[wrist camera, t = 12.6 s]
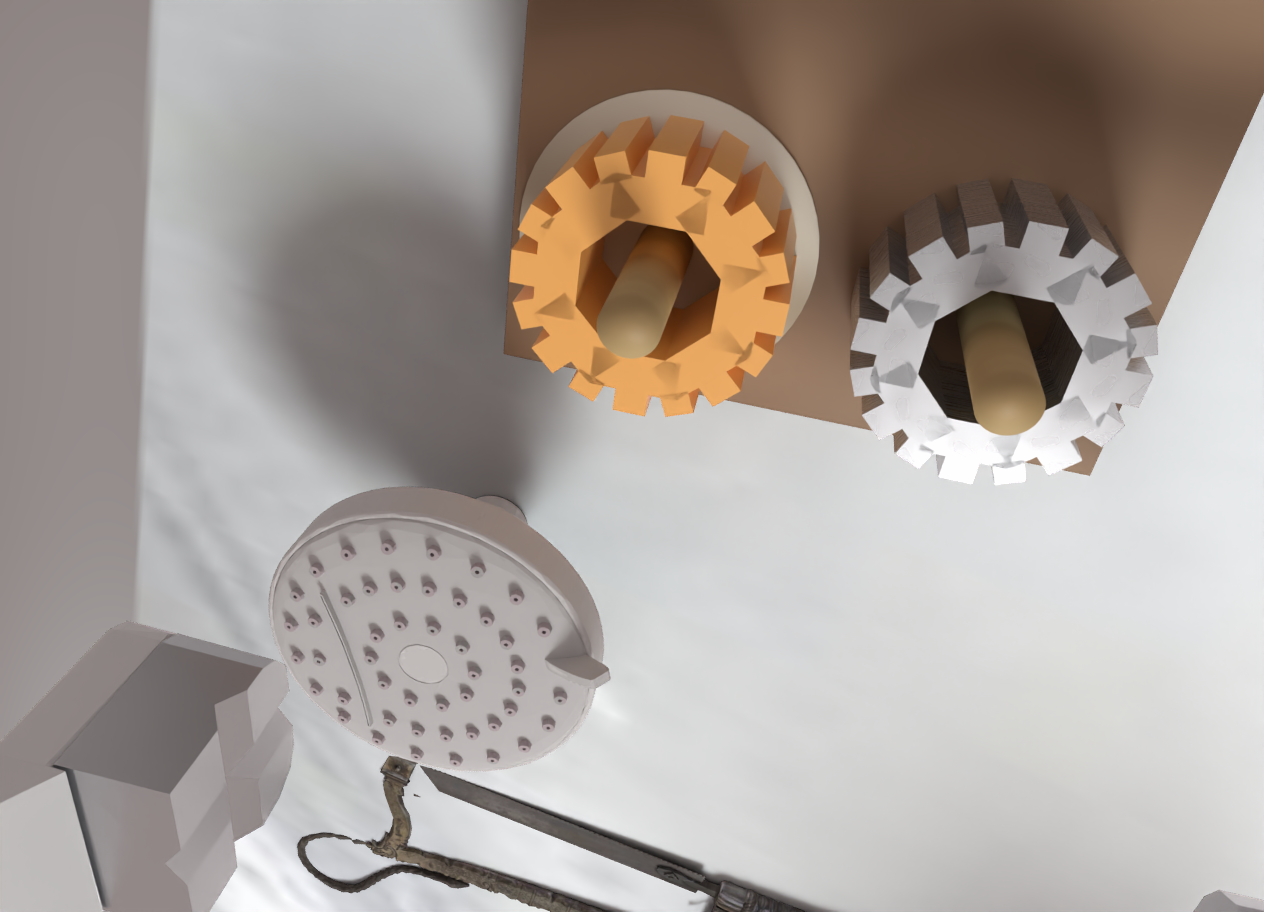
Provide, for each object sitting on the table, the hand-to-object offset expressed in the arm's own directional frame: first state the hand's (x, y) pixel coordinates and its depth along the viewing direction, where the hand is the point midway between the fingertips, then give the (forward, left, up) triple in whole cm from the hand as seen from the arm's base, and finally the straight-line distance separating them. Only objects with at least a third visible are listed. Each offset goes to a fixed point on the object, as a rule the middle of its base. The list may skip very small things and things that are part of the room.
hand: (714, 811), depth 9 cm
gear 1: (-2, +3, -18) cm, 19 cm away
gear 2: (-2, -5, -19) cm, 19 cm away
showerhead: (-13, +7, -20) cm, 25 cm away
